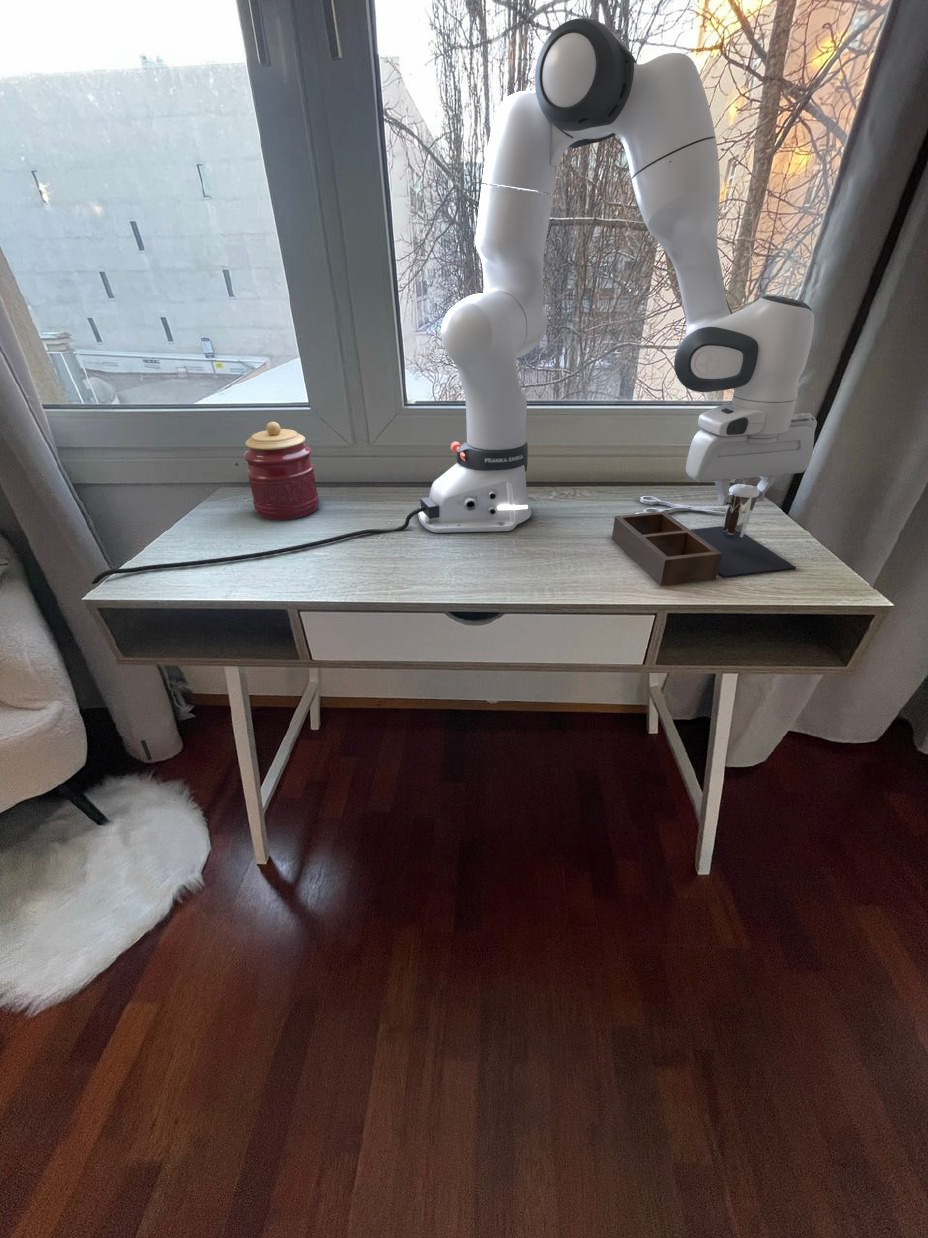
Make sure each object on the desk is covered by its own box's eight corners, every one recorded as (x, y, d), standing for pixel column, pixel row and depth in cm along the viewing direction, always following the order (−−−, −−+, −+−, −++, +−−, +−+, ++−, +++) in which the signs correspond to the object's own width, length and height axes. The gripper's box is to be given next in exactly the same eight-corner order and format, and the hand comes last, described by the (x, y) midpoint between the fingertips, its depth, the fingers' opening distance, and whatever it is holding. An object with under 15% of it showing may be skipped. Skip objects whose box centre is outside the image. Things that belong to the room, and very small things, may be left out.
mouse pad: (723, 578, 93) (723, 576, 93) (666, 533, 108) (667, 531, 108) (795, 569, 95) (796, 567, 95) (730, 527, 110) (731, 525, 110)
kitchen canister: (311, 521, 117) (296, 430, 107) (246, 521, 117) (226, 430, 108) (326, 498, 128) (313, 413, 118) (266, 498, 128) (249, 414, 119)
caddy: (660, 586, 91) (665, 560, 89) (611, 539, 107) (614, 516, 104) (716, 579, 93) (722, 553, 91) (660, 534, 108) (664, 511, 106)
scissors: (632, 495, 123) (734, 499, 120) (632, 498, 124) (733, 503, 120) (634, 513, 115) (744, 519, 111) (634, 517, 115) (743, 523, 111)
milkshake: (745, 532, 103) (760, 475, 97) (747, 544, 98) (763, 485, 93) (717, 528, 104) (731, 472, 99) (718, 540, 99) (732, 482, 94)
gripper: (805, 407, 95) (782, 490, 102) (689, 416, 92) (674, 501, 99) (833, 416, 90) (807, 503, 97) (711, 425, 86) (694, 514, 94)
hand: (739, 502), depth 98 cm, fingers closed on milkshake, 4 cm apart
